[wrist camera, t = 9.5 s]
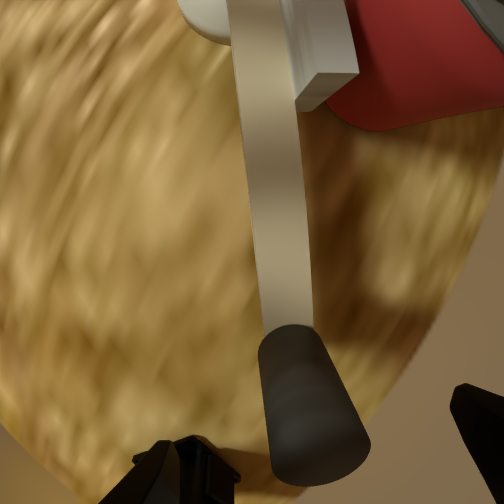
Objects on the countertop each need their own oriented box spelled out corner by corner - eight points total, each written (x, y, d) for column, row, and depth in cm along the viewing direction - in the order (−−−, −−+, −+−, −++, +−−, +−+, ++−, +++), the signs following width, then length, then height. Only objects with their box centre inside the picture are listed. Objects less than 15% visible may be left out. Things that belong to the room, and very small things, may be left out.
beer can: (296, 29, 14) (373, -124, 3) (399, 29, 14) (528, -58, 3) (322, 138, 16) (477, 86, 4) (424, 129, 16) (596, 111, 4)
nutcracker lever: (205, -43, 11) (189, -159, 3) (281, -48, 11) (310, -160, 3) (250, 362, 16) (263, 502, 8) (325, 352, 16) (385, 477, 8)
